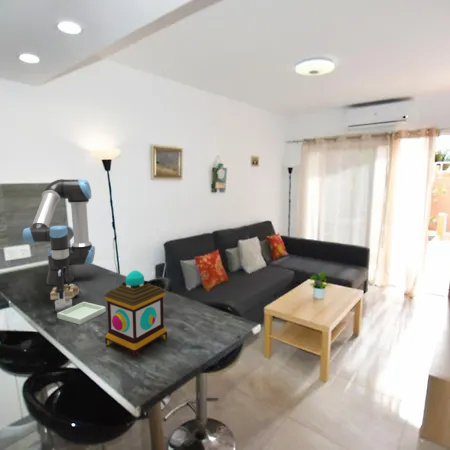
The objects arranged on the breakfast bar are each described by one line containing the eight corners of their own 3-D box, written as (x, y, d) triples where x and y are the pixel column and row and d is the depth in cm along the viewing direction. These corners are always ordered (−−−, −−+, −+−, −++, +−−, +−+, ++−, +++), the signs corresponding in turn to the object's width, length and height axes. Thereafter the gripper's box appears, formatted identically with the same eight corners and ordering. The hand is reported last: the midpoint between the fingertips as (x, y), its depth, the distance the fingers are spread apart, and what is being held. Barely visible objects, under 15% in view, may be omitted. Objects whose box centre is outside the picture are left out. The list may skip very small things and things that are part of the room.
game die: (76, 303, 165) (87, 289, 165) (63, 303, 158) (74, 288, 157) (69, 292, 169) (79, 278, 169) (56, 291, 162) (66, 277, 161)
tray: (84, 306, 152) (83, 301, 152) (106, 311, 147) (105, 306, 146) (57, 318, 139) (57, 313, 139) (80, 324, 133) (80, 319, 133)
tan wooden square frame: (54, 292, 151) (53, 287, 151) (79, 290, 155) (78, 284, 155) (50, 299, 142) (50, 293, 142) (77, 296, 146) (76, 291, 146)
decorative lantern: (134, 362, 106) (131, 282, 102) (99, 346, 116) (96, 272, 112) (172, 338, 123) (171, 268, 118) (139, 325, 133) (137, 260, 129)
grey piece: (65, 304, 154) (64, 283, 152) (75, 307, 151) (74, 285, 149) (51, 310, 147) (50, 288, 146) (62, 313, 144) (60, 290, 143)
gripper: (55, 252, 154) (58, 293, 158) (47, 264, 134) (51, 310, 137) (71, 251, 157) (74, 291, 160) (66, 262, 136) (69, 308, 140)
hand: (63, 300), depth 149 cm, fingers closed on tan wooden square frame, 9 cm apart
